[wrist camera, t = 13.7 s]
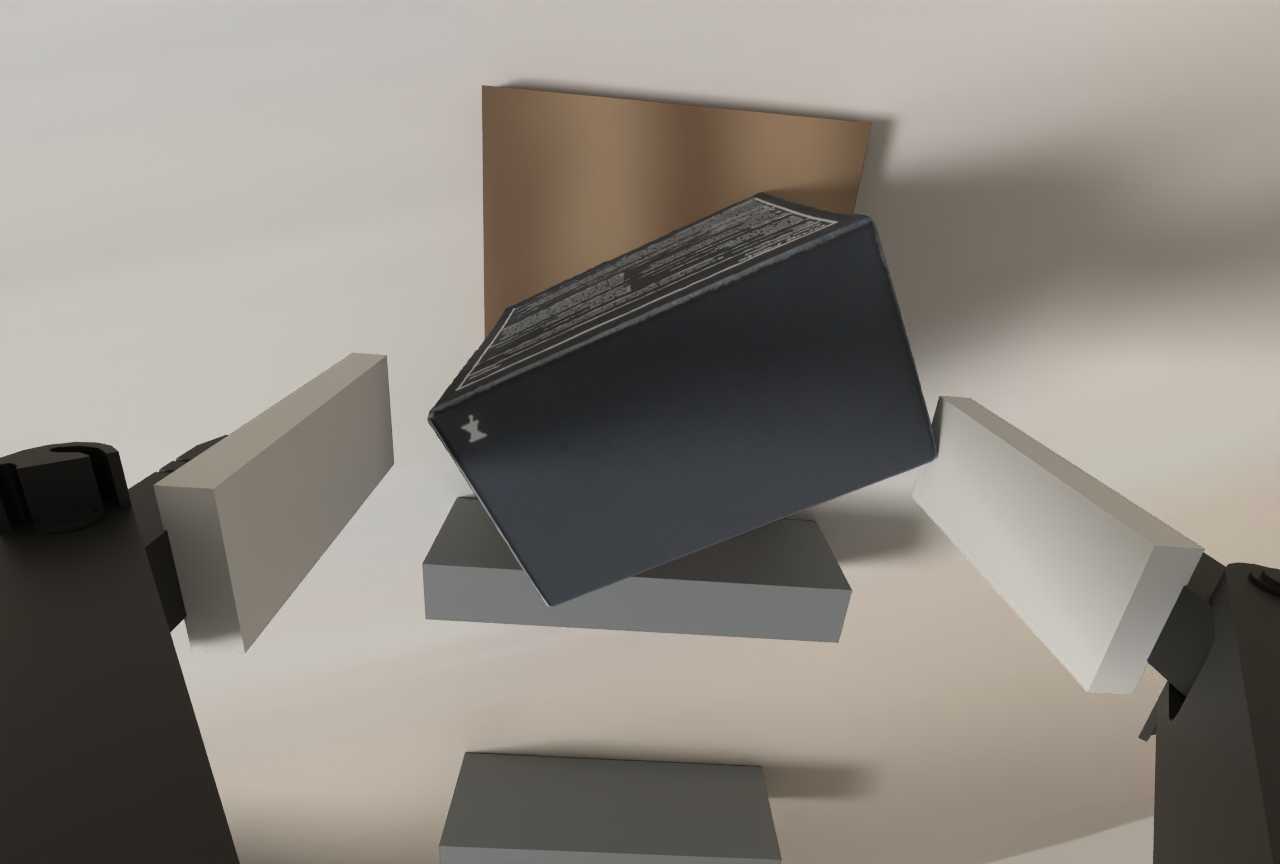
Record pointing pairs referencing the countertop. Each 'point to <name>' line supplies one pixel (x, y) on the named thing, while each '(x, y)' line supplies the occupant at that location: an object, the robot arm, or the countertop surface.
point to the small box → (688, 394)
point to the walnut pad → (635, 177)
